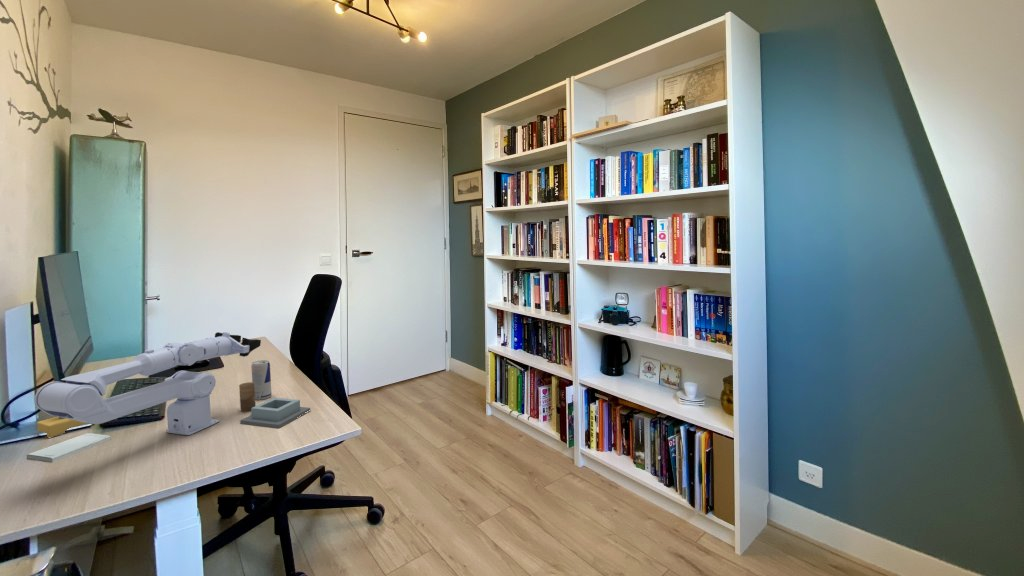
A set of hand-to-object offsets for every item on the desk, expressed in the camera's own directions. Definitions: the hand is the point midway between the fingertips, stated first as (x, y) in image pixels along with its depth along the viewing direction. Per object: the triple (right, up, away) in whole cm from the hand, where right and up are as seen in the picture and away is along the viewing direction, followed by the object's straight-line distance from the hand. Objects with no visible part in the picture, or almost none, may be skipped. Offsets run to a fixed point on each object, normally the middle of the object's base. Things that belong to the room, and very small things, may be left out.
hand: (249, 340), depth 139 cm
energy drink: (0, -20, +6) cm, 21 cm away
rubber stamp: (-38, -22, -19) cm, 49 cm away
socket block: (+14, -21, -10) cm, 28 cm away
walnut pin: (+2, -21, -4) cm, 21 cm away
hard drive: (-27, -24, -30) cm, 47 cm away
